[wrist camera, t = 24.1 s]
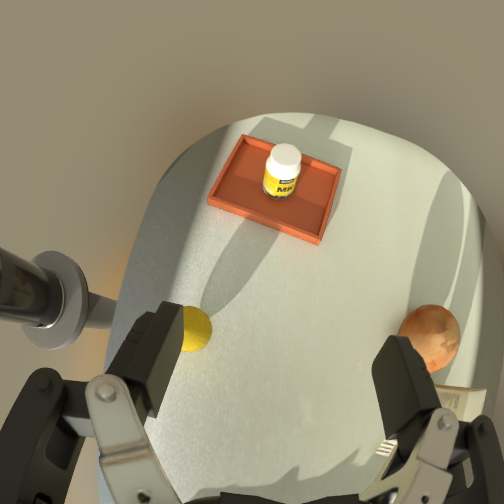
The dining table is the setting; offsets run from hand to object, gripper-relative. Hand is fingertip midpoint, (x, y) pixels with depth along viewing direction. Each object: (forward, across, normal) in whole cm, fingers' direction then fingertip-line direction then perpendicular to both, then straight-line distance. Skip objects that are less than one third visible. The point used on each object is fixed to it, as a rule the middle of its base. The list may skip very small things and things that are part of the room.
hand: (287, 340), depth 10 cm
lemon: (+18, +8, +20) cm, 28 cm away
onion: (+20, -24, +18) cm, 36 cm away
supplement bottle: (+34, 0, +3) cm, 34 cm away
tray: (+34, 0, +3) cm, 35 cm away
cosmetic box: (+13, -29, +25) cm, 40 cm away
